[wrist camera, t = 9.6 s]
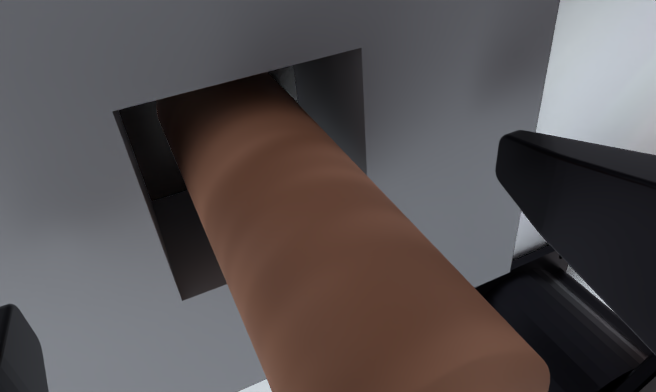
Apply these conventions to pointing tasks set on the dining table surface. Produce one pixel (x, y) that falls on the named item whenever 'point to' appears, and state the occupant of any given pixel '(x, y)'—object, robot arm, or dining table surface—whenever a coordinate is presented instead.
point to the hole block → (178, 210)
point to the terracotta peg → (330, 257)
